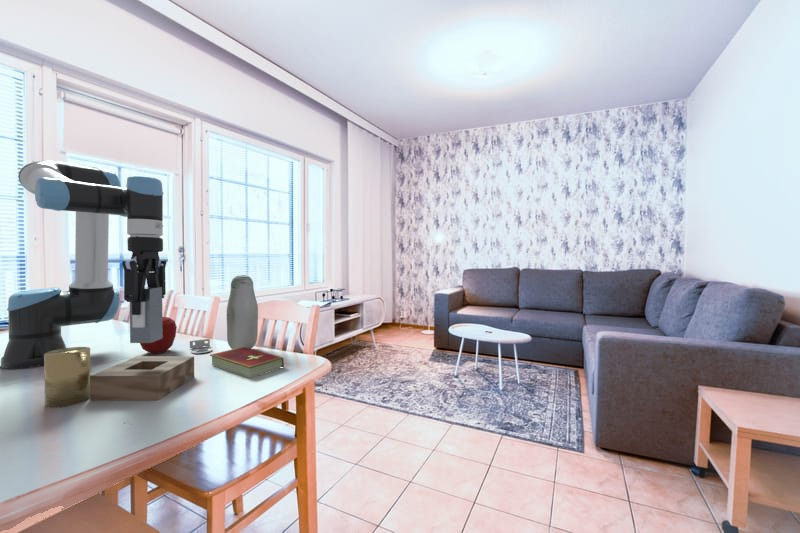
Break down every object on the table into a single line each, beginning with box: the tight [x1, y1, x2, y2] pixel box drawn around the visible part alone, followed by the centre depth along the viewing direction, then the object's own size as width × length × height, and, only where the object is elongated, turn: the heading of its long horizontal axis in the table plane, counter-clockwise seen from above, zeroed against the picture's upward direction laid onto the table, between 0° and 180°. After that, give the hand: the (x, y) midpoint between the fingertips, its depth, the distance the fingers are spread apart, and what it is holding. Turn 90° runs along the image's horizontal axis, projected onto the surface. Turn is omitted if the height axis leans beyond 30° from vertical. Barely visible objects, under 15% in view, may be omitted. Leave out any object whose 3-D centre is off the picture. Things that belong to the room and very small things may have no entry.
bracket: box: [189, 338, 213, 355], centre depth 127 cm, size 7×10×4 cm, turn 36°
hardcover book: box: [209, 347, 285, 379], centre depth 111 cm, size 12×21×4 cm, turn 57°
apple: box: [139, 316, 178, 355], centre depth 124 cm, size 12×12×13 cm
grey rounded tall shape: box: [226, 274, 259, 350], centre depth 127 cm, size 10×10×28 cm
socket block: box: [89, 355, 195, 401], centre depth 92 cm, size 16×16×6 cm
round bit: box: [43, 346, 92, 409], centre depth 84 cm, size 8×8×12 cm
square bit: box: [129, 286, 163, 344], centre depth 92 cm, size 5×5×14 cm
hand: (146, 324), depth 92 cm, fingers closed on square bit, 5 cm apart
